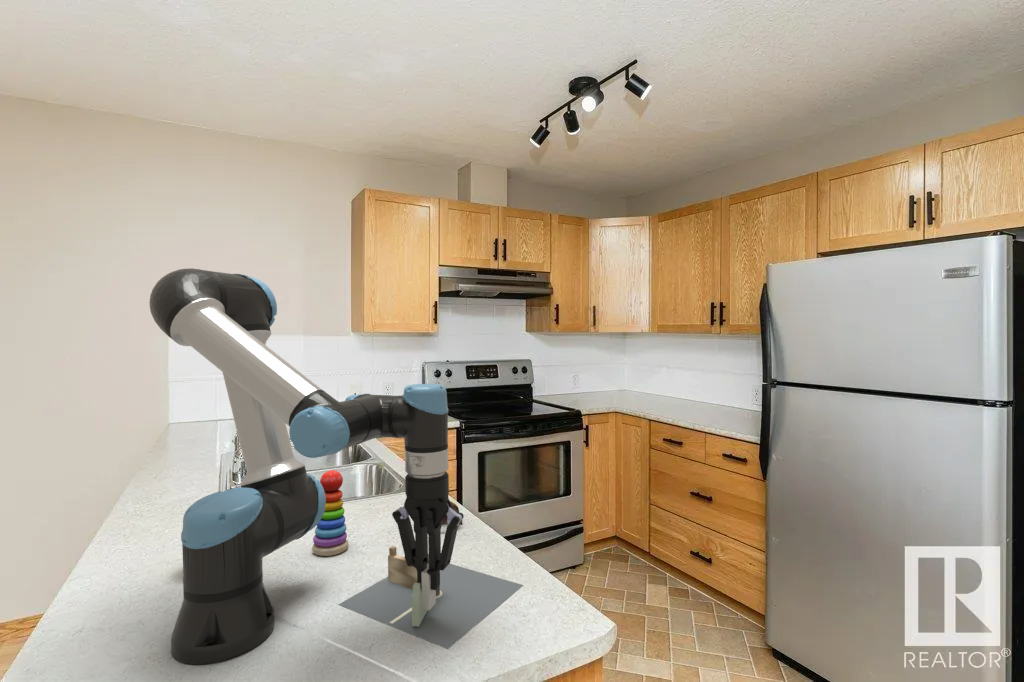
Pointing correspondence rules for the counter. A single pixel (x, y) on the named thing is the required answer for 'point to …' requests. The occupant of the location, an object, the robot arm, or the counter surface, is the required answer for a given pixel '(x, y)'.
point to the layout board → (436, 604)
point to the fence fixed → (402, 570)
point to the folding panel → (417, 605)
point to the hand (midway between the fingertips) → (429, 606)
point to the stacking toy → (331, 518)
